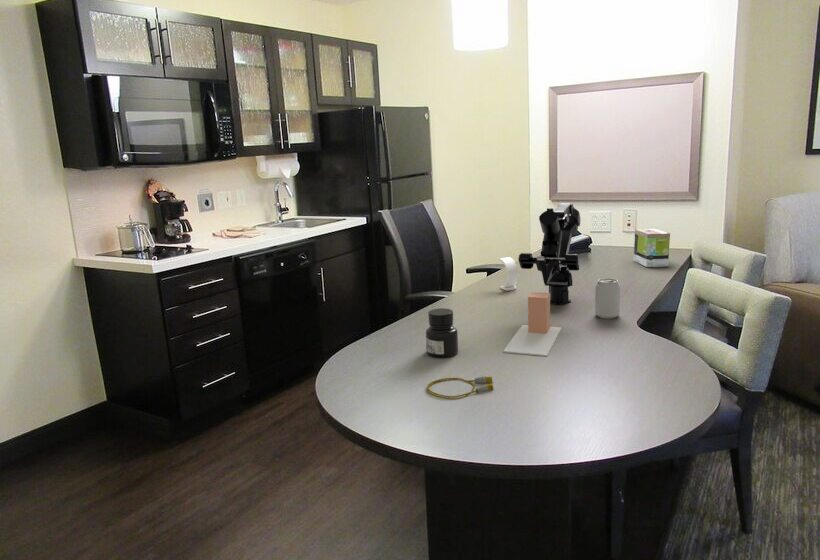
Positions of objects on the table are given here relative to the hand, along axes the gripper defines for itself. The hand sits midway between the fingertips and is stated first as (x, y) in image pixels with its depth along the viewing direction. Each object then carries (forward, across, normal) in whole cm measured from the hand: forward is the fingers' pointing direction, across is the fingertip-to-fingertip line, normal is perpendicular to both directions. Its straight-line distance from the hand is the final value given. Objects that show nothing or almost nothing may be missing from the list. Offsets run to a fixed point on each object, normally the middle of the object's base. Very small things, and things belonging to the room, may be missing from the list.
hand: (545, 284), depth 180 cm
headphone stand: (-18, +21, -36) cm, 45 cm away
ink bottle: (+33, +22, +16) cm, 43 cm away
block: (+16, 0, -1) cm, 16 cm away
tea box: (-57, -29, -75) cm, 98 cm away
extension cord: (+49, +10, +31) cm, 59 cm away
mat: (+22, 0, +4) cm, 22 cm away
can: (+2, -18, -16) cm, 24 cm away
